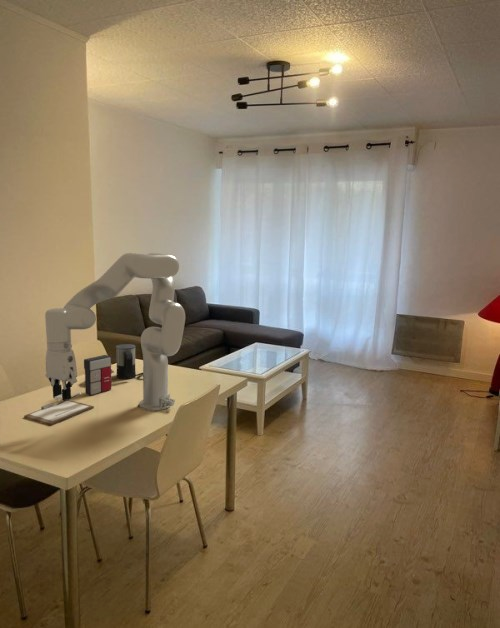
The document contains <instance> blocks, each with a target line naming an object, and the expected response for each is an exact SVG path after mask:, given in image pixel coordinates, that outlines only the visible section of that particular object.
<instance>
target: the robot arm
mask: <svg viewBox="0 0 500 628" xmlns="http://www.w3.org/2000/svg"><path fill="white" fill-rule="evenodd" d="M179 269H180V263H179V260H178V258H176V257H175V256H174V255H171V254H168V253H167V254H165V253H158V252H157V253H155V252H151V253H148V254H144V253H133V252H127V253H124V254H122V255H121V256H120V257H118V259H117V260H116V261H115V262H114V263H113V264H112V265H111V266H110V267H109V268H108V269H107V270H106V271H105V272H104V273H103V274H102V275H101V276H100V277H99V278H98V279H97V280H95V281H92V283H90V284H88V285H87V286H85V287H84V288H82V289H81V290H79V291H78V292H76V293H75V295H73V296H72V297H71V298H70V299H69V301H67V303H66V304H65V305H64V307H63V308H61V307H59V308H56V307H55V308H50V309H48V310H46V311H45V313H44V314H45V315H44V316H45V317H44V319H45V333H46V335H45V336H46V348H47V349H46V354H45V372H46V373H45V377H46V378H47V379H48V381H49V382H50V386H51V388H52V397H53V399H54V398H55V396H58V395H61V394H62V398H61V401H63V400H66V399H69V400H71V399H72V398H71V396H72V390H71V388H72V387H73V385H74V384H76V383H78V379H77V377H78V369H77V361H76V356H75V352H74V349H72V348H73V344H72V333H71V332H72V330H87V329H90V328H92V327H93V326H94V325H95V323H96V321H97V316H96V313H95V312H94V310H92V309H91V308H92V307H94V306H95V305H96V304H98V303H100V302H103V301H106V300H107V301H108V300H111V299H113V298H116V297H117V296H118V295H119V294H120V293H121V292H122V291H123V290H124V289H125V288H126V287H127V286H128V285H129V284H130V283H131V282H132V280H134V279H135V278H137V279H150V280H151V283H152V292H151V298H150V305H149V311H148V318H149V319H150V320H151V322H153V323H155V324H158V325H161V327H159V326H149V327H147V328H145V329H144V330H143V331H142V333H141V336H140V344H141V345H140V346H141V352H142V362H143V365H142V366H143V367H142V373H143V375H142V377H143V378H142V384H143V385H142V389H143V390H142V398H143V399H142V400H140V401H139V403H138V404H139V408H140V409H142V410H145V411H163V410H166V409H169V408H170V407H173V406H174V405H175V402H176V399H174V398H171V394H169V386H168V384H169V382H168V381H169V372H168V371H169V369H168V368H169V360H168V357H171V356H175V354H177V353H178V351H179V350H180V348H181V345H182V340H183V335H184V329H185V323H186V311H185V309H184V307H183V306H182V304H180V303H179V302H175V301H174V300H175V292H176V285H175V281H174V277H175V276H176V275H177V274H178V272H179ZM70 398H71V399H70Z"/></svg>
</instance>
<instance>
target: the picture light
mask: <svg viewBox="0 0 500 628" xmlns="http://www.w3.org/2000/svg"><path fill="white" fill-rule="evenodd" d="M82 393H83V392H81V391H79V392H77V393H76V394H74V395H71V398H70V399H66V400H61V401H59V402H57V403H55V405H53V407H55V406H57V405H59V404H61V403H63V402H65V401H67V400H71V399H73V398H75V397H77V396H80V395H81V394H82ZM53 399H54V400H55V401H58V400H60V399H62V394H61V395H58V396H55V398H53Z"/></svg>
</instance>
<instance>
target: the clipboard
mask: <svg viewBox="0 0 500 628" xmlns="http://www.w3.org/2000/svg"><path fill="white" fill-rule="evenodd" d="M55 404H56V403H55V402H50V403H47V404H45V405H42V406H41V409H38V410H36V411H33V412H31V413H28V414H25V415H23V418H24V419H27V420H30V421H34V422H37V423H41V424H44V425H48V426H54V425H56V424H59V423H61V422H65V421H66V420H69V419H71V418H74V417H76V416H78V415H81V414H83V413H86V412H88V411H91V410H93V409H94V408H95V406H94V405H90V404H87V403H83V402H78V401H74V400H71V399H69V400H67V401H65V402H63V403H61V404H59V405H57V406H55V407H53V405H55Z"/></svg>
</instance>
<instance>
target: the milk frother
mask: <svg viewBox="0 0 500 628" xmlns="http://www.w3.org/2000/svg"><path fill="white" fill-rule="evenodd" d="M115 348H116V351H115V353H116V375H115V377H116V378H117V379H119V380H121V379H122V380H128V379H129V380H130V379H134V378H136V377H137V376H139V377H140V376H143V372H141V373H137V374H136V345H135V344H130V343H127V344H125V343H124V344H118V345H115Z"/></svg>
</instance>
